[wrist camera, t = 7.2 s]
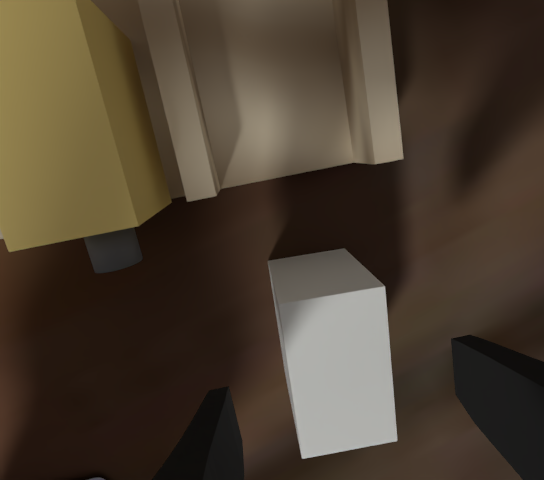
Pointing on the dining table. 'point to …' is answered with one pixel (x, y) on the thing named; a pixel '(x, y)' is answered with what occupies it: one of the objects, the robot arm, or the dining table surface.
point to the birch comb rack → (262, 86)
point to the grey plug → (334, 351)
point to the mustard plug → (74, 133)
